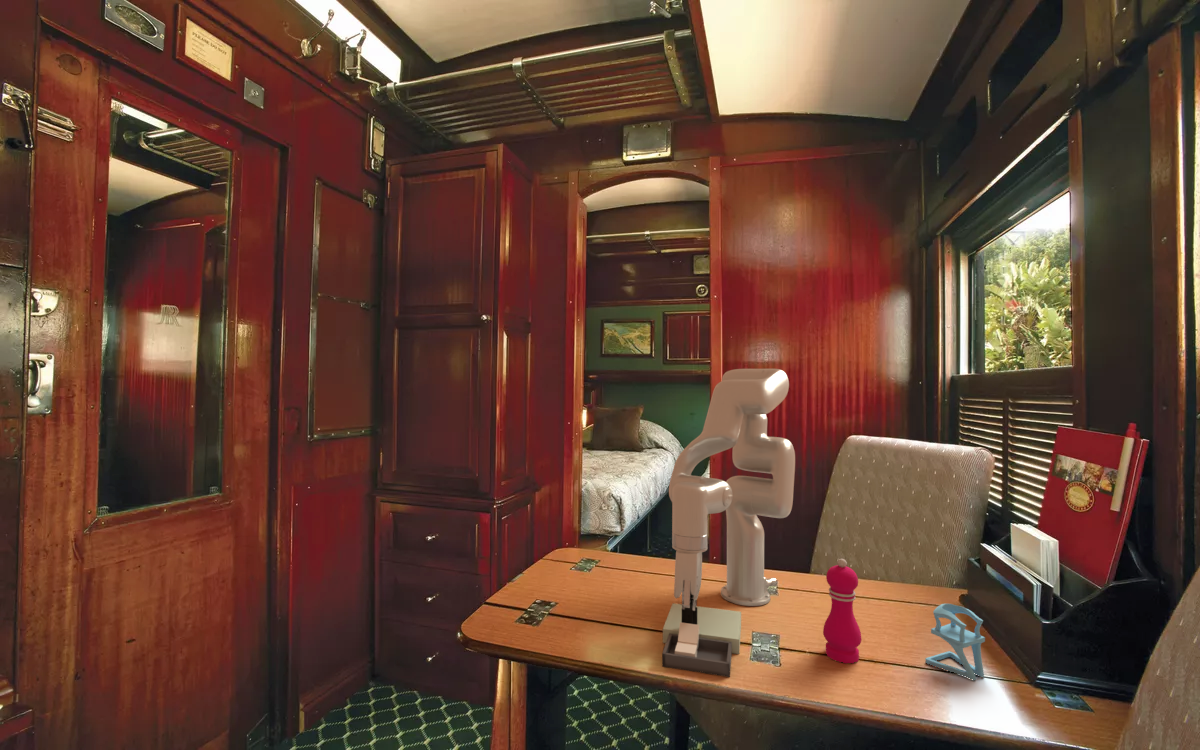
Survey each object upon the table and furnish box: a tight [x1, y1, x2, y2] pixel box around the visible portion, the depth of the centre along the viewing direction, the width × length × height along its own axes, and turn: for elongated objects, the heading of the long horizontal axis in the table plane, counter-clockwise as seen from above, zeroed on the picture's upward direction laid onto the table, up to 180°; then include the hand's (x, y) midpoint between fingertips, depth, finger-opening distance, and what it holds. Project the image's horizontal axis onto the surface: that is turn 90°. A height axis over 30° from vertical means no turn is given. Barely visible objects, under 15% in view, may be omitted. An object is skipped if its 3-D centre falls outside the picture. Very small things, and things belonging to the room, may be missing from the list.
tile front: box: [675, 642, 697, 657], centre depth 107 cm, size 4×4×2 cm
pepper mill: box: [822, 558, 862, 664], centre depth 110 cm, size 7×7×20 cm
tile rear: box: [678, 622, 700, 649], centre depth 111 cm, size 4×4×2 cm
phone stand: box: [924, 603, 986, 681], centre depth 105 cm, size 8×8×12 cm
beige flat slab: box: [662, 602, 742, 655], centre depth 119 cm, size 14×16×3 cm
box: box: [661, 633, 733, 678], centre depth 107 cm, size 9×13×2 cm
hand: (689, 626), depth 114 cm, fingers closed
